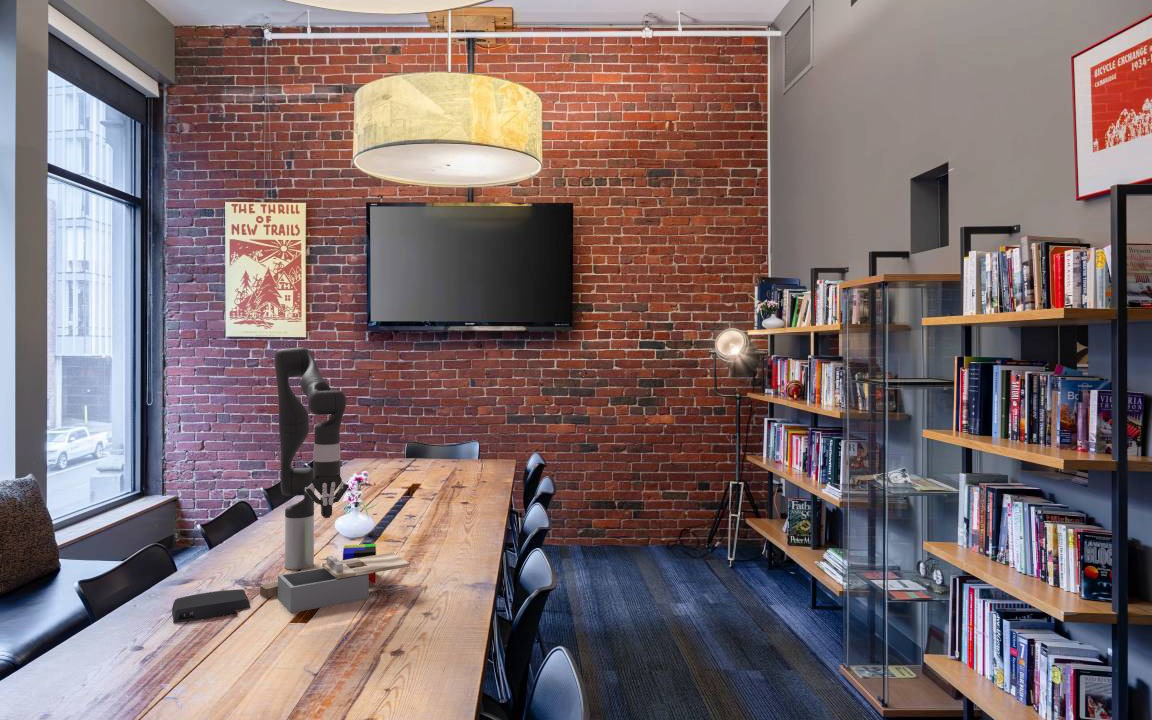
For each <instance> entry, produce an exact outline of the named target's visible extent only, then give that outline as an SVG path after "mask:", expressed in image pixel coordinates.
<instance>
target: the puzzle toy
mask: <svg viewBox="0 0 1152 720" xmlns="http://www.w3.org/2000/svg"><path fill="white" fill-rule="evenodd" d="M376 544H377V543H362V544H349V545H347V544H346V545H343V551H342V560H348V559H354V558H361V557H367V556H373V555H377V545H376ZM357 566H358V567H363V565H357ZM376 573H377V572H375V573H369V582H370V583H371V584H376V583H377V577H376V576H377V574H376Z"/></svg>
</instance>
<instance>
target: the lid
mask: <svg viewBox="0 0 1152 720" xmlns="http://www.w3.org/2000/svg"><path fill="white" fill-rule="evenodd" d="M357 565H363V567H357V568H349V567H351V566H357ZM410 566H411V563H410V562H409V561H407V560H405V559H404V558H402V557H400V556H399V555H397V554H395V553H394V552H388V553H380V554H376V555H373V556H367V557H361V558H354V559H348V560H343V559H342V560H338V559H337V558H336V557H334V556H333V555H330V556H329V555H328V556H326V562H324V563H322V567H321V568H324V569H326V570H327V571H328V572H329V573H331V574H332V575H333V576H334V577H335V578H337V579H340V578H345V577H351V576H357V575H363V574H369V573H375V572H376V573H381V572H385V571H391V570H392V571H393V570H396V569H404V568H409V567H410Z"/></svg>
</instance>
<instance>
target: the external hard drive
mask: <svg viewBox="0 0 1152 720" xmlns="http://www.w3.org/2000/svg"><path fill="white" fill-rule="evenodd" d="M249 608H251V604H250V601H249V598H248V595H247V594H246V592H245V590H244V589H241V588H239V589H225V590H224V589H223V590H215V591H208V592H201V593H197V594H191V595H186V596H180V597H178V598H175V599H174V601H173V604H172V607H171V612H172V621H173V624H179V623H187V622H188V623H189V622H195V621H200V620H201V621H202V619H203V620H209V619H216V618H221V617H228V616H234V615H238V614H239V613H238V612H237V611H240V610H246V609H249ZM227 615H228V616H227ZM215 617H216V618H215Z"/></svg>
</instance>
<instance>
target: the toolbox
mask: <svg viewBox="0 0 1152 720" xmlns="http://www.w3.org/2000/svg"><path fill="white" fill-rule="evenodd" d="M357 567H358V566H351V567H349V568H357ZM277 582H278V596H277V600H278V601H279V603H280V604H281V605H283V607H284V608H285V609H286V610H287V611H288V612H289V614H295V613H299V612H305V611H309V610H314V609H315V610H316V609H319V608H325V607H332V606H336V605H341V604H345V603H346V604H347V603H352V602H358V601H363V600H367V599H368V600H369V597H370V596H369V588H370V587H369V584H370V583H369V582H370V581H369V574H363V575H357V576H351V577H345V578H340V579H337V578H335V577H334V576H333V575H332V574H331V573H329V572H328V571H327V570H326V569H324V568H323V567H319V568H312V569H305V570H301V571H293V572H288V573H283V574H278V575H277Z"/></svg>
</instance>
